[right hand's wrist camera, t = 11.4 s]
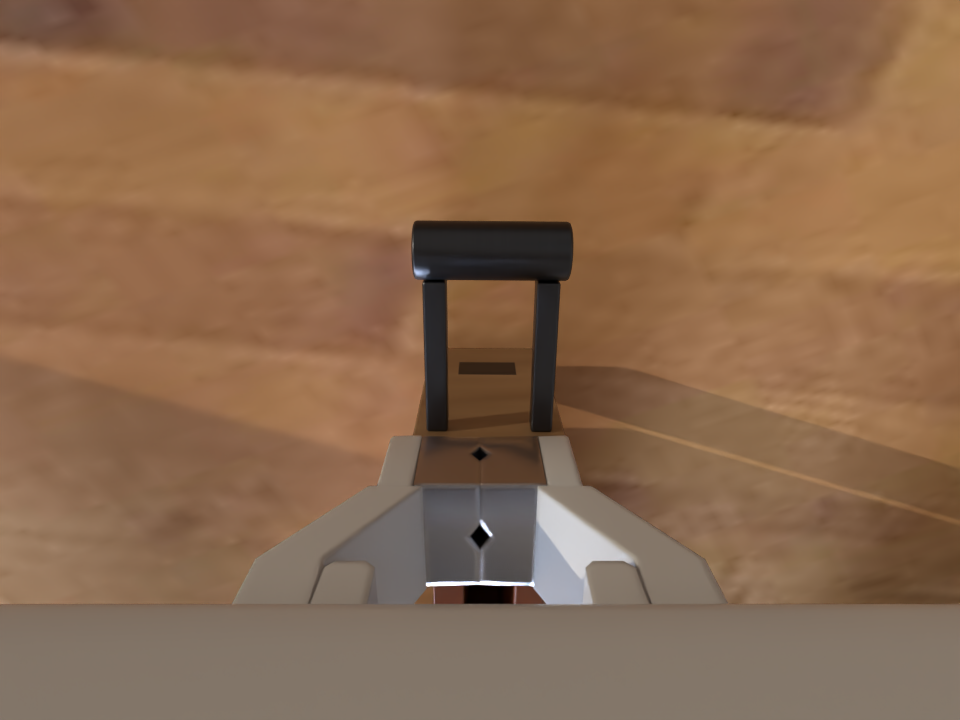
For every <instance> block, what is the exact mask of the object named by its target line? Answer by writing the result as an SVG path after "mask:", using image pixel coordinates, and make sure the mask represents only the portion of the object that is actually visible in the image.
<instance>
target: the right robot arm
mask: <svg viewBox="0 0 960 720" xmlns="http://www.w3.org/2000/svg"><path fill="white" fill-rule="evenodd" d="M445 585H515V586H534V590H535V591H536V592H537V593H538V594H539V596H540V597H541V598H542V599H543V600H544V602H545V603H546V604H414V603H415V602H416V601H417V600H418V598H419V597H420V596H421V595H422V594H423V592H424V591H425V590H426V589H427V588H426V586H445ZM0 720H960V604H728V602H727V601H726V599H725V597H724V595H723V593H722V591H721V589H720V587H719V585H718V583H717V581H716V579H715V577H714V575H713V574H712V572H711V570H710V568H709V566H708V564H707V562H706V560H705V559H704V558H702V557H701V556H699V555H698V554H696V553H694V552H693V551H691V550H690V549H688V548H687V547H685V546H684V545H682V544H681V543H679V542H677V541H676V540H674V539H673V538H671V537H670V536H668V535H667V534H665V533H663V532H662V531H660V530H659V529H657V528H656V527H654V526H653V525H651V524H649V523H648V522H646V521H645V520H643V519H642V518H640V517H639V516H637V515H636V514H634V513H632V512H631V511H629V510H628V509H626V508H625V507H623V506H622V505H620V504H618V503H617V502H615V501H614V500H612V499H611V498H609V497H608V496H606V495H605V494H603V493H601V492H600V491H598V490H597V489H595V488H594V487H592V486H583V485H582V481H581V478H580V474H579V471H578V468H577V464H576V461H575V457H574V454H573V451H572V447H571V444H570V440H569V437H567V436H566V435H559V436H509V437H450V436H423V437H422V436H421V435H414V436H393V437H392V438H391V440H390V443H389V446H388V450H387V453H386V457H385V460H384V464H383V467H382V471H381V474H380V478H379V481H378V484H377V486H368V487H366V488H365V489H363V490H362V491H360V492H359V493H357V494H355V495H354V496H352V497H351V498H349V499H348V500H346V501H345V502H343V503H341V504H340V505H338V506H337V507H335V508H334V509H332V510H330V511H329V512H327V513H326V514H324V515H323V516H321V517H320V518H318V519H316V520H315V521H313V522H312V523H310V524H309V525H307V526H306V527H304V528H302V529H301V530H299V531H298V532H296V533H295V534H293V535H292V536H290V537H288V538H287V539H285V540H284V541H282V542H281V543H279V544H278V545H276V546H274V547H273V548H271V549H270V550H268V551H267V552H265V553H264V554H262V555H260V556H259V557H257V558H256V559H255V561H254V563H253V565H252V566H251V568H250V570H249V572H248V574H247V576H246V578H245V580H244V582H243V583H242V585H241V587H240V589H239V591H238V593H237V595H236V597H235V599H234V601H233V602H232V604H0Z"/></svg>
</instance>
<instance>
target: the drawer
mask: <svg viewBox="0 0 960 720" xmlns="http://www.w3.org/2000/svg"><path fill="white" fill-rule="evenodd" d="M572 262H573V232H572V227H571V224H570V223H569V222H524V221H415V222H414V224H413V228H412V268H413V274H414V277H415V279H417V280H424V281H423V284H422V287H423V324H424V360H425V382H424V387H423V391H422V396H421V401H420V405H419V410H418V414H417V419H416V424H415V428H414V433H413V436H414V435H421V436H422V437H423V436H450V437H509V436H559V435H565V433H564V429H563V426H562V422H561V419H560V415H559V412H558V408H557V404H556V401H555V397H554V387H555V370H556V353H557V336H558V319H559V302H560V282H559V281H566V280H568V279H569V277H570V274H571V269H572ZM447 280H530V281H535V299H534V322H533V346H532V349H498V348H448V321H447ZM433 599H434V604H544V600H543V599H542V598H541V597H540V596H539V594H538V593H537V592H536V591H535V590H534V586H515V585H445V586H433Z"/></svg>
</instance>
